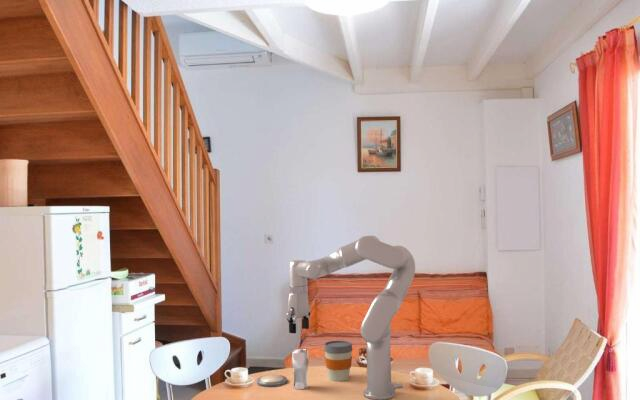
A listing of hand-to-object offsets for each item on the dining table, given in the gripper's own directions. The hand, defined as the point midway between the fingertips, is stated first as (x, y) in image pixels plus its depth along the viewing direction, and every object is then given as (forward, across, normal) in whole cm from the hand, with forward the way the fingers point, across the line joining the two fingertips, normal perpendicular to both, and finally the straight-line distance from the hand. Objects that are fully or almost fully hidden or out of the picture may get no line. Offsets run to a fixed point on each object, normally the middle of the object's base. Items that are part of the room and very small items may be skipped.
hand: (299, 330), depth 209 cm
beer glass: (+24, 0, 0) cm, 24 cm away
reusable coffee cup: (+23, -18, +9) cm, 31 cm away
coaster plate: (+23, 0, -14) cm, 27 cm away
